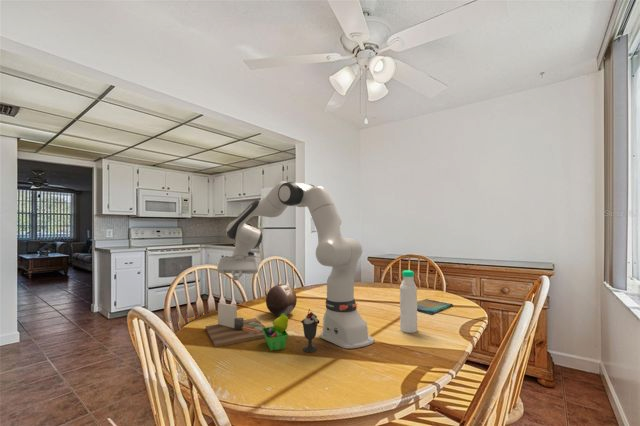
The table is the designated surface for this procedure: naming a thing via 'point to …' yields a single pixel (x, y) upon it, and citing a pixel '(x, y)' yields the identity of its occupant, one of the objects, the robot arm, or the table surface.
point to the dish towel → (431, 306)
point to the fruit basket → (277, 333)
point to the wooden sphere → (281, 299)
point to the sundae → (310, 330)
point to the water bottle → (408, 303)
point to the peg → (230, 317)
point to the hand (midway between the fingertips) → (235, 279)
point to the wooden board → (235, 333)
